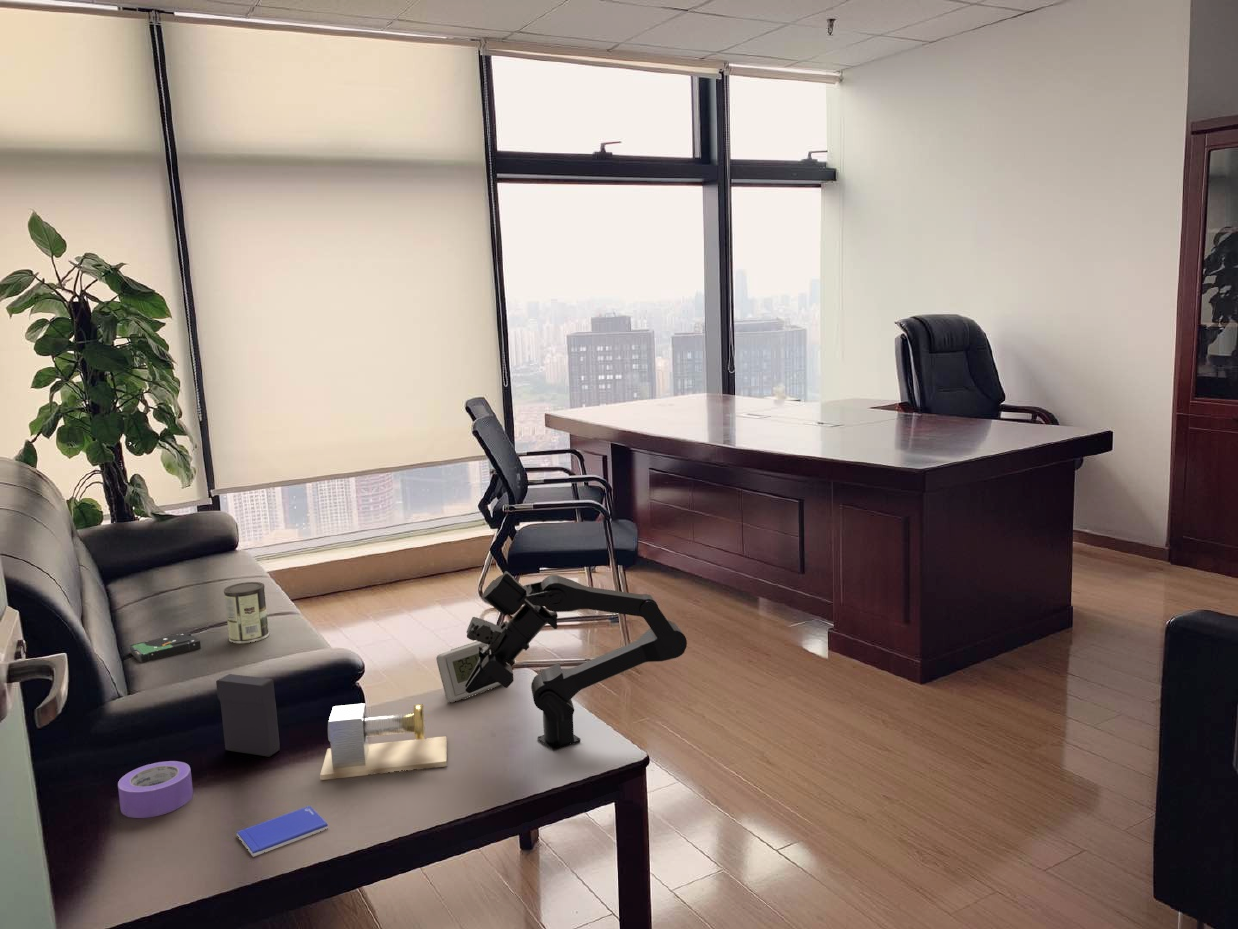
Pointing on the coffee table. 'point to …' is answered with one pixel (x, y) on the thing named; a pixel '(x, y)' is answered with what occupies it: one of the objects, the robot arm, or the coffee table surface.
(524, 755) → the coffee table surface
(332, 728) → the bearing block
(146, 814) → the tape roll
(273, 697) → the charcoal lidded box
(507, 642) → the robot arm
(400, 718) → the shaft
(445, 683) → the digital clock
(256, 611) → the coffee can
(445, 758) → the board
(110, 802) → the coffee table surface
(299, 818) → the hard drive
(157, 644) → the disk drive
